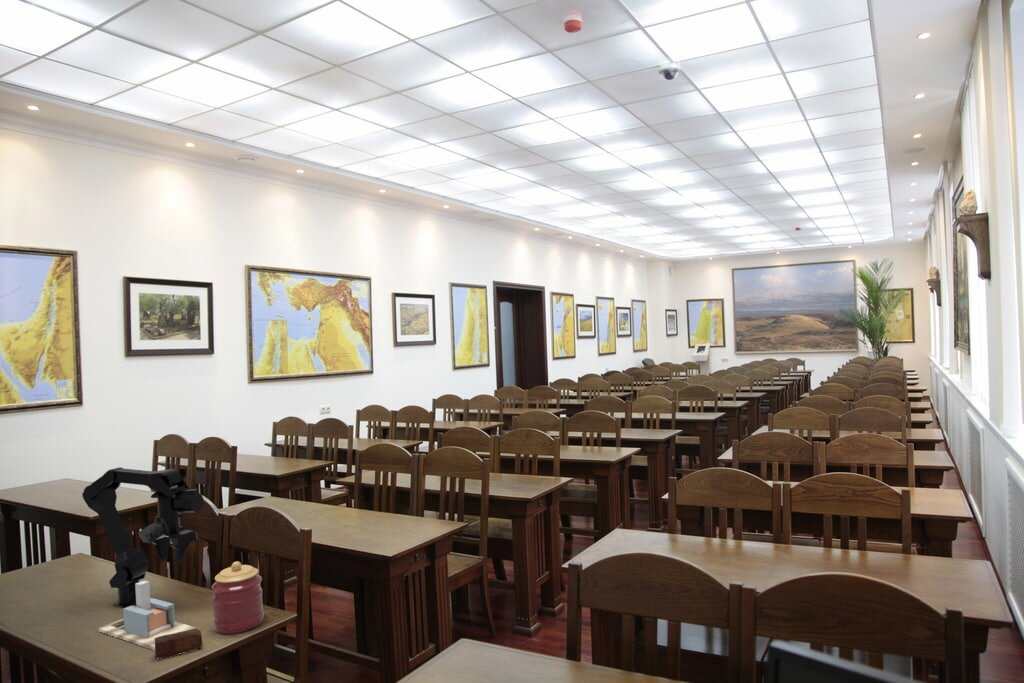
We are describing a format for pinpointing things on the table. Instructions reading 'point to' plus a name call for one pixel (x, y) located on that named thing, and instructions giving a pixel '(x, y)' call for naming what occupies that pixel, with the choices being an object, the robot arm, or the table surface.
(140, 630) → the light blue blocks
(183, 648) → the brick
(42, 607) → the table surface
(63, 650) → the table surface
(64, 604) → the table surface
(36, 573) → the table surface
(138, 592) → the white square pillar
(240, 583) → the canister
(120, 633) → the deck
